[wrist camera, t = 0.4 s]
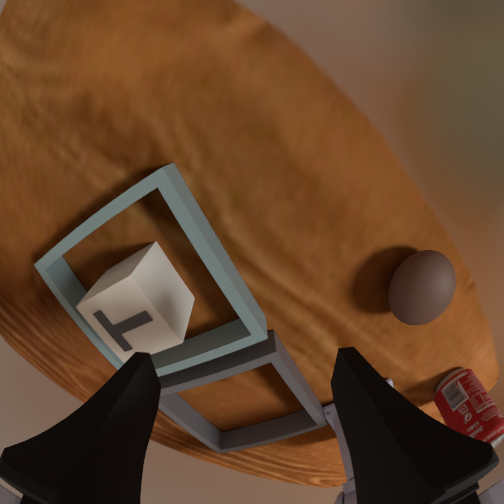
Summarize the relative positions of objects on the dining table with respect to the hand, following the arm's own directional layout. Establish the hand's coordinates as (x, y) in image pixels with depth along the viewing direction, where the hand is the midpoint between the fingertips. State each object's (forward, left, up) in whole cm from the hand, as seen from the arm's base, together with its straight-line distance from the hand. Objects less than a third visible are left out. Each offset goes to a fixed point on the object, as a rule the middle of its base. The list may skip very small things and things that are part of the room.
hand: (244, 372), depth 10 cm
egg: (-7, -11, -10) cm, 17 cm away
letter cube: (+2, +7, -10) cm, 12 cm away
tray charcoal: (-12, +7, -10) cm, 17 cm away
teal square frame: (+2, +7, -10) cm, 12 cm away
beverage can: (-27, -15, -10) cm, 33 cm away
